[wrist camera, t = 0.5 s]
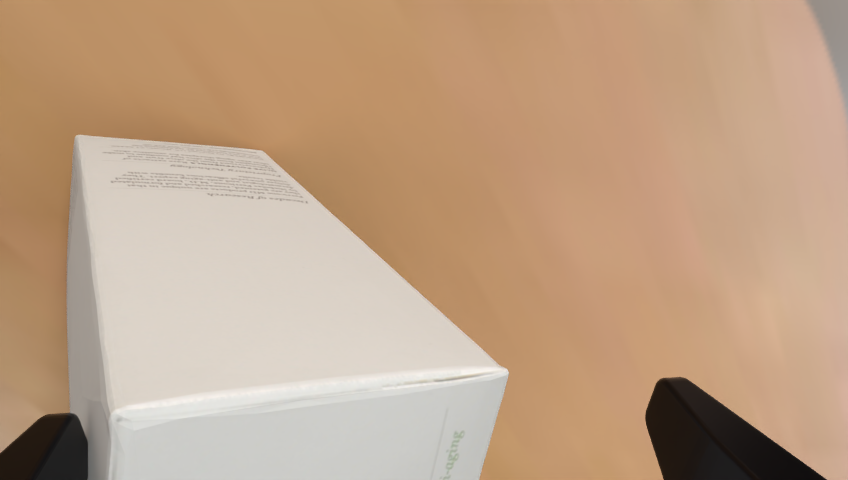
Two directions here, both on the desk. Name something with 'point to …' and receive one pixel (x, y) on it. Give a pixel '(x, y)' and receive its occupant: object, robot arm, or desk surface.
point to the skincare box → (253, 331)
